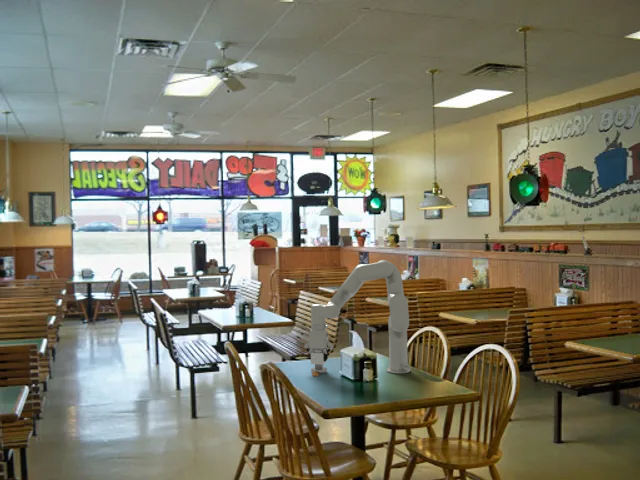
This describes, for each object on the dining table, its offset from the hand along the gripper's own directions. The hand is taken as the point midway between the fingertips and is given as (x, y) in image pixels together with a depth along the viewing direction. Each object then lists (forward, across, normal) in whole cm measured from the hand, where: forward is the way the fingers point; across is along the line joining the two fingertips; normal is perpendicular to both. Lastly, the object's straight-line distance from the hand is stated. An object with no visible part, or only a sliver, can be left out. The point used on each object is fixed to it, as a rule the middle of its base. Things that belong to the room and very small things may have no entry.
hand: (318, 360), depth 332 cm
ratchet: (+6, 0, +2) cm, 7 cm away
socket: (+1, 0, 0) cm, 1 cm away
